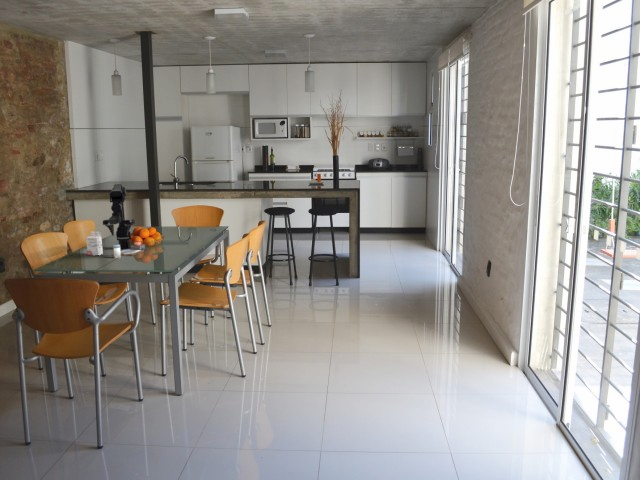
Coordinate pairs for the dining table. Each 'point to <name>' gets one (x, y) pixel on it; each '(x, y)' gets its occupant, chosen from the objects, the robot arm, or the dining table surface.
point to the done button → (137, 243)
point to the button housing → (138, 247)
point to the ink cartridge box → (94, 244)
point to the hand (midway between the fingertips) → (119, 235)
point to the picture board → (130, 252)
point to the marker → (117, 251)
